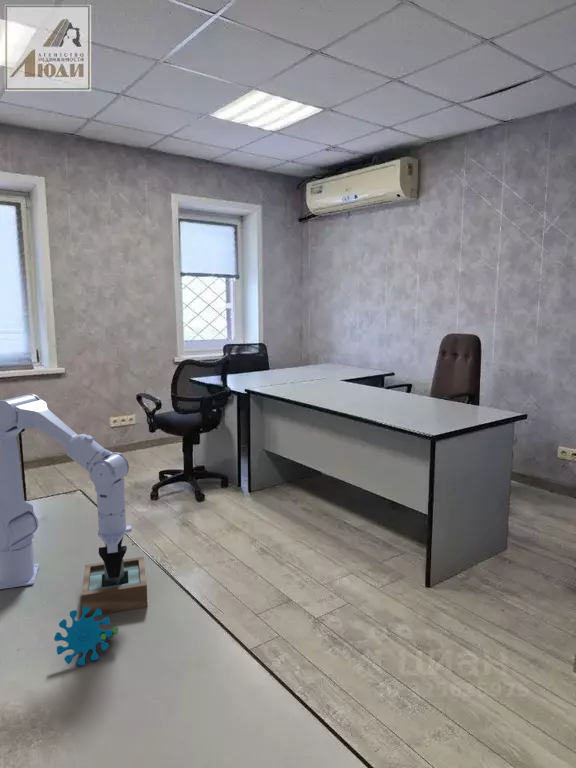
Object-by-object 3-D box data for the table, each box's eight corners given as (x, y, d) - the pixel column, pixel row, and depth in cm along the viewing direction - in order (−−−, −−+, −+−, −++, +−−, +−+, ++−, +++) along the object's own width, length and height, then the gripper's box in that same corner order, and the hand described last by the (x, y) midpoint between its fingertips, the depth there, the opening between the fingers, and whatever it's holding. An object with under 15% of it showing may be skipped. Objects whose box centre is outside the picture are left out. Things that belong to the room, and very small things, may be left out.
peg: (105, 588, 116) (104, 559, 115) (123, 585, 118) (122, 556, 116) (105, 597, 113) (104, 568, 111) (124, 594, 114) (123, 565, 113)
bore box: (86, 585, 119) (85, 564, 119) (144, 576, 123) (143, 556, 123) (82, 617, 107) (81, 595, 106) (147, 606, 111) (146, 585, 110)
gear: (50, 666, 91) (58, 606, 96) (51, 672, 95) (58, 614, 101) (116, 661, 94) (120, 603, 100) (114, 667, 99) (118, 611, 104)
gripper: (131, 521, 107) (134, 582, 109) (130, 496, 120) (132, 550, 122) (95, 525, 104) (98, 587, 107) (97, 499, 118) (100, 554, 120)
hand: (114, 568), depth 114 cm, fingers open, 7 cm apart
